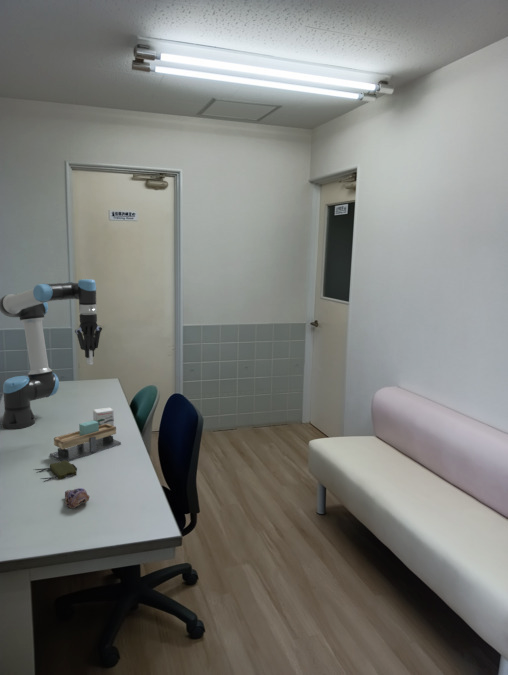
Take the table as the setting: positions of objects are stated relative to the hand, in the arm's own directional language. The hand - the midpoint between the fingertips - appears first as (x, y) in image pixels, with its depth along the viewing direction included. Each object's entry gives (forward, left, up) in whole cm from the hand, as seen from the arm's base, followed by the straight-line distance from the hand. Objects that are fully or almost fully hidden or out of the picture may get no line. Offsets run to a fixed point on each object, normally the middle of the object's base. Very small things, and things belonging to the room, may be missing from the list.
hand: (89, 364), depth 233 cm
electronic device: (+26, -33, -35) cm, 54 cm away
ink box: (+2, +5, -35) cm, 35 cm away
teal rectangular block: (+14, -10, -27) cm, 33 cm away
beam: (+14, -12, -28) cm, 34 cm away
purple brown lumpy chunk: (+52, -40, -35) cm, 75 cm away
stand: (+14, -12, -34) cm, 39 cm away
